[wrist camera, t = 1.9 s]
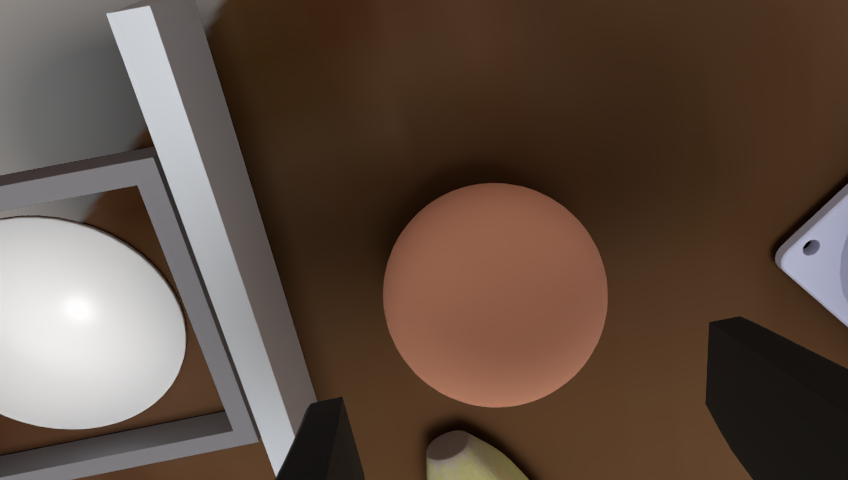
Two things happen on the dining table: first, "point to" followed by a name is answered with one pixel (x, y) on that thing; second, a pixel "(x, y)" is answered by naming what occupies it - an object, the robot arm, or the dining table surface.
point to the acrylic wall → (217, 208)
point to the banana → (468, 459)
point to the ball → (495, 295)
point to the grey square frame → (104, 326)
